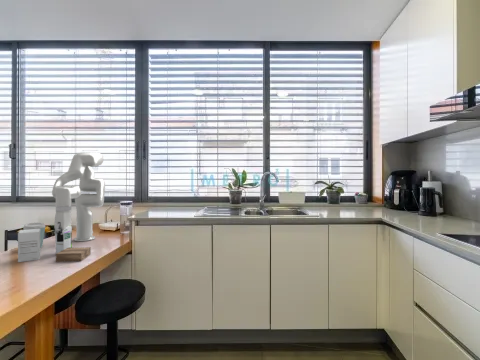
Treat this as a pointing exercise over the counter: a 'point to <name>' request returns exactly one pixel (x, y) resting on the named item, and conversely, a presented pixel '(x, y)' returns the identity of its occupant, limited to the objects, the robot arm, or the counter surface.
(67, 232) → the syrup box
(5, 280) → the counter surface
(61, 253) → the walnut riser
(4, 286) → the counter surface
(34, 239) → the supplement box
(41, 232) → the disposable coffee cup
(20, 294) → the counter surface
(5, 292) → the counter surface
